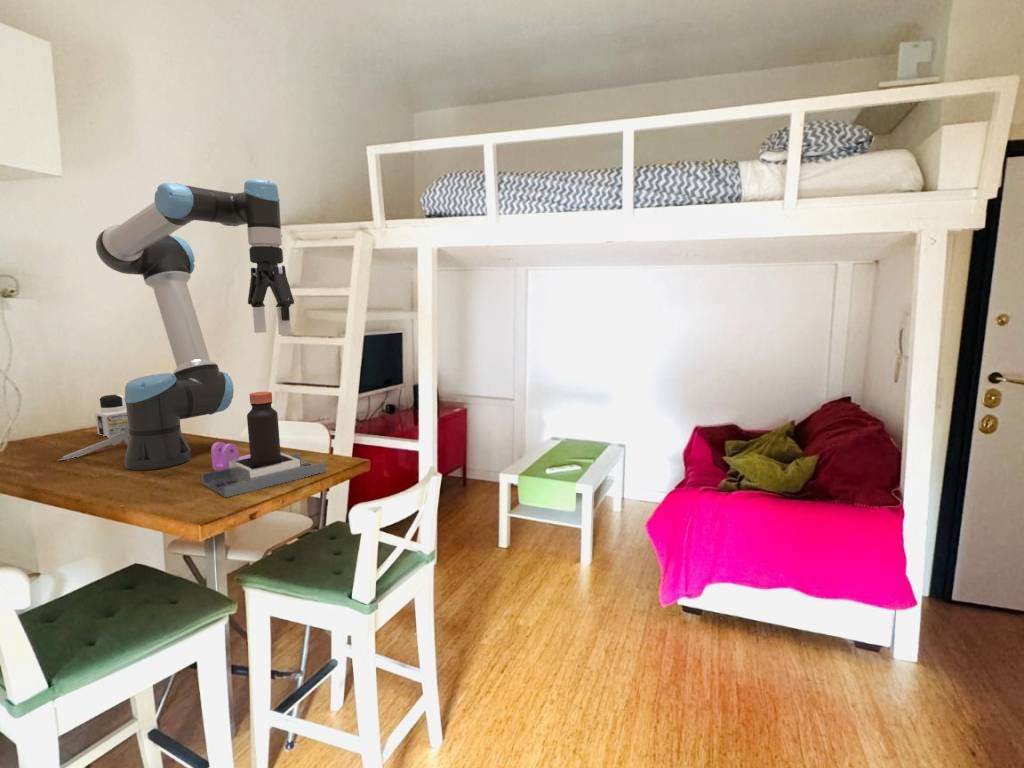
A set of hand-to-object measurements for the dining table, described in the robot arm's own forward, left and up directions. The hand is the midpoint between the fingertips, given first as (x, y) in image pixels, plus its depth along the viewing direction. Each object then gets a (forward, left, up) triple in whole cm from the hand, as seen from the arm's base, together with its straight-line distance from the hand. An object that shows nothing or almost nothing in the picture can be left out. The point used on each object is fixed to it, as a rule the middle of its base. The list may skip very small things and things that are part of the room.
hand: (272, 333), depth 141 cm
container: (-78, -19, -35) cm, 88 cm away
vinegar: (+6, -7, -34) cm, 35 cm away
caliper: (-55, -28, -35) cm, 71 cm away
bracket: (-11, -6, -35) cm, 37 cm away
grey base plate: (+6, -7, -35) cm, 36 cm away
